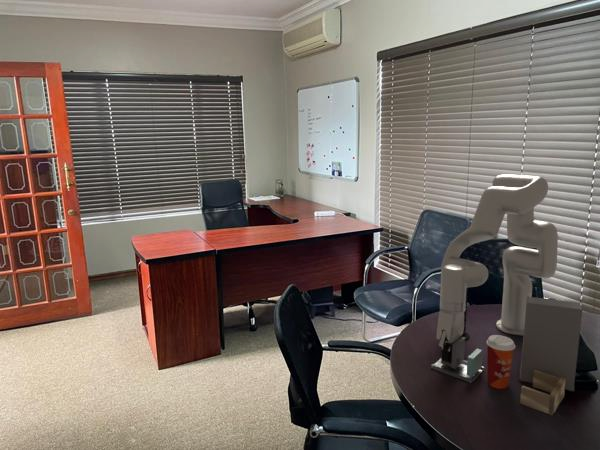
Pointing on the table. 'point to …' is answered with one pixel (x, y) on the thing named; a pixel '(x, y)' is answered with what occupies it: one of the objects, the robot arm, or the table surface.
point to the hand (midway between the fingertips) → (450, 358)
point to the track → (456, 371)
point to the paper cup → (499, 360)
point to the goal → (541, 399)
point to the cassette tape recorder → (551, 339)
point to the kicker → (458, 357)
